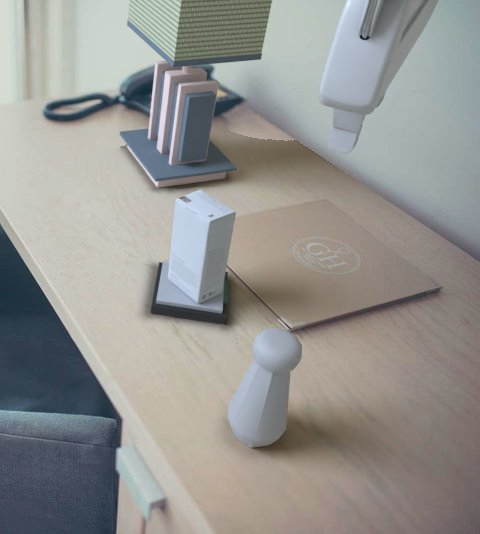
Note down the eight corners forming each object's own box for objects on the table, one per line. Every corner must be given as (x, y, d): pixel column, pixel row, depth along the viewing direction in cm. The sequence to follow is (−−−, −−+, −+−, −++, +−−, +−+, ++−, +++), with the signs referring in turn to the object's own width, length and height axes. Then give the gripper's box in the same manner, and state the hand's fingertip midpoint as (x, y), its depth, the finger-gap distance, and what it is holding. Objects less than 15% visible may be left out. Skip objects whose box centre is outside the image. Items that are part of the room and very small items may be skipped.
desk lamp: (237, 183, 104) (281, -33, 84) (156, 195, 101) (182, -29, 80) (189, 134, 118) (218, -63, 98) (117, 142, 114) (131, -60, 94)
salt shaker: (291, 452, 63) (325, 360, 55) (235, 459, 62) (262, 367, 54) (267, 405, 68) (296, 314, 60) (216, 412, 67) (238, 320, 59)
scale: (226, 278, 85) (228, 268, 83) (224, 324, 78) (226, 313, 76) (158, 269, 86) (159, 258, 85) (150, 313, 79) (151, 302, 78)
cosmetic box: (223, 293, 79) (241, 211, 72) (196, 306, 77) (211, 223, 70) (190, 267, 83) (203, 186, 76) (163, 279, 81) (174, 197, 74)
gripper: (447, -31, 34) (368, 193, 42) (484, -86, 48) (419, 92, 56) (327, -48, 36) (275, 167, 45) (396, -96, 50) (346, 76, 59)
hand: (355, 124), depth 51 cm, fingers open, 8 cm apart
